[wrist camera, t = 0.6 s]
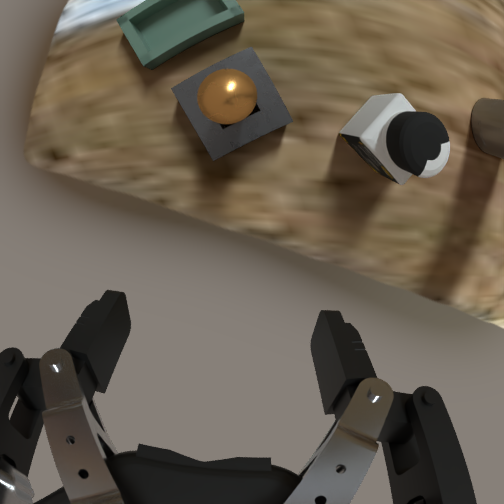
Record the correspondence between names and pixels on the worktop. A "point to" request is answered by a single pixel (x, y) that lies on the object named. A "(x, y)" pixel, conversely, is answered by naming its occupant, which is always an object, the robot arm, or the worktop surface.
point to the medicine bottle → (397, 138)
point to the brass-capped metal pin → (227, 96)
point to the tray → (175, 26)
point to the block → (243, 131)
